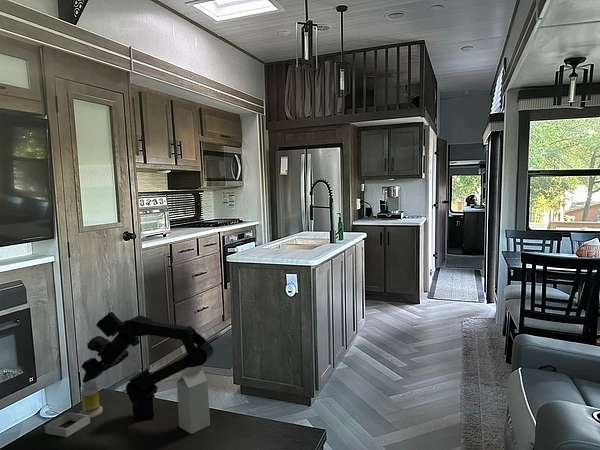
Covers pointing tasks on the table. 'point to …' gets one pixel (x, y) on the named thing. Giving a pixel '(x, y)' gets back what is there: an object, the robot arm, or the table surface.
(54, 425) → the bin
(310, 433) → the table surface
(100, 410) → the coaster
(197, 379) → the milk carton
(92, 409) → the supplement bottle
